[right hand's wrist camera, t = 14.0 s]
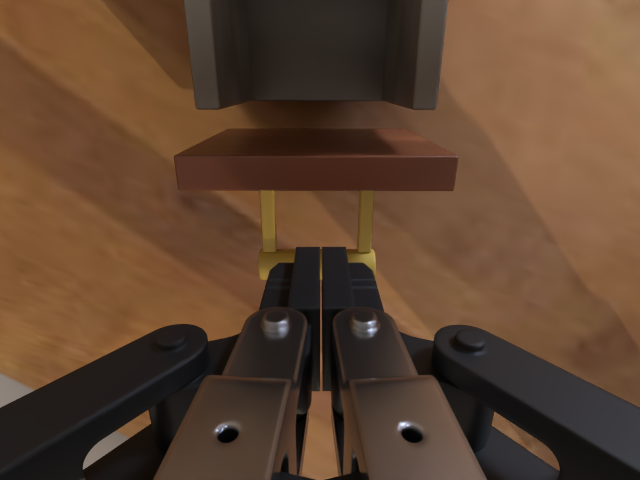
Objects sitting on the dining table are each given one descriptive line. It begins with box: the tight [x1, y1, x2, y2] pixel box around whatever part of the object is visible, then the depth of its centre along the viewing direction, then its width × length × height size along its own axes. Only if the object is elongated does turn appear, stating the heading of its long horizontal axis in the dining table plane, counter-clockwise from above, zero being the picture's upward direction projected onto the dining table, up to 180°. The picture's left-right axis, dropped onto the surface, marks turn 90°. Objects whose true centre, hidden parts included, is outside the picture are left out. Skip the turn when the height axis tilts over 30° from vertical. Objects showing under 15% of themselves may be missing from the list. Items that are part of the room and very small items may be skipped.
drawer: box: [174, 0, 458, 280], centre depth 15 cm, size 22×9×8 cm, turn 0°
